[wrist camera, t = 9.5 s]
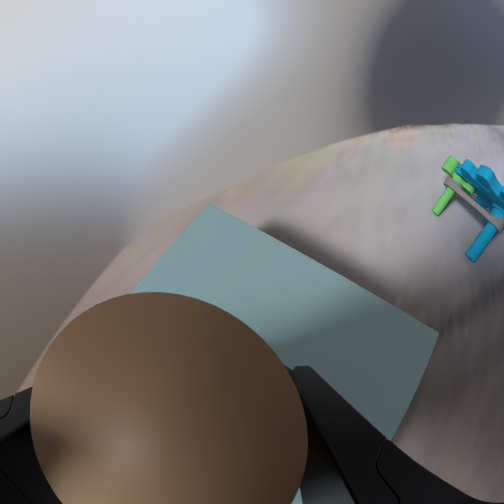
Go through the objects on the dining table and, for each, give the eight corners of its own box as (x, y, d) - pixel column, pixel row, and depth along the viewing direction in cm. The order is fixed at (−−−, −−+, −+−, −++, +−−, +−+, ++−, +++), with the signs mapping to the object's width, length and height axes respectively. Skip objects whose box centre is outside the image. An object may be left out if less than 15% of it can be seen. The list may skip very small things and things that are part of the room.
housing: (248, 569, 9) (245, 608, 5) (68, 440, 13) (22, 440, 9) (400, 353, 16) (439, 332, 12) (219, 247, 19) (210, 203, 15)
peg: (249, 464, 13) (227, 597, 2) (179, 432, 13) (3, 450, 3) (280, 399, 14) (354, 360, 4) (211, 369, 15) (104, 252, 4)
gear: (540, 247, 17) (571, 231, 10) (504, 298, 19) (521, 308, 12) (457, 171, 23) (447, 125, 16) (424, 219, 25) (401, 191, 18)
